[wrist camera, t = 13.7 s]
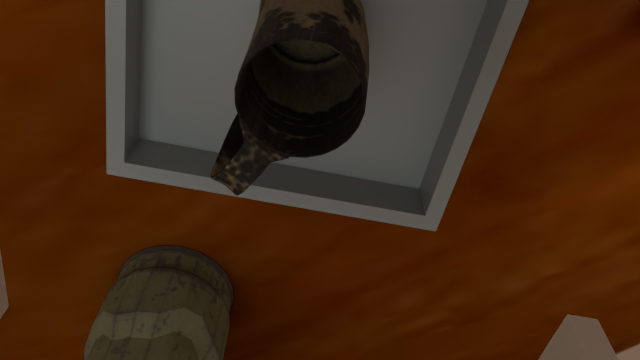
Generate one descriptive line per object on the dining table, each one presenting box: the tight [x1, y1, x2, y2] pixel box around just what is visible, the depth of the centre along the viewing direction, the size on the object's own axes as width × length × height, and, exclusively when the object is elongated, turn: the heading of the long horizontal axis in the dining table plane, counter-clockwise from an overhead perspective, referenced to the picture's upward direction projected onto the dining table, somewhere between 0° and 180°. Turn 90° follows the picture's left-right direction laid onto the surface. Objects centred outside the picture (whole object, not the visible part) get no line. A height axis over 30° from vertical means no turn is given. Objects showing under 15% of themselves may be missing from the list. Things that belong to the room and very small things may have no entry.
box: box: [105, 0, 529, 231], centre depth 30 cm, size 20×20×4 cm
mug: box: [210, 0, 369, 196], centre depth 26 cm, size 8×6×12 cm
